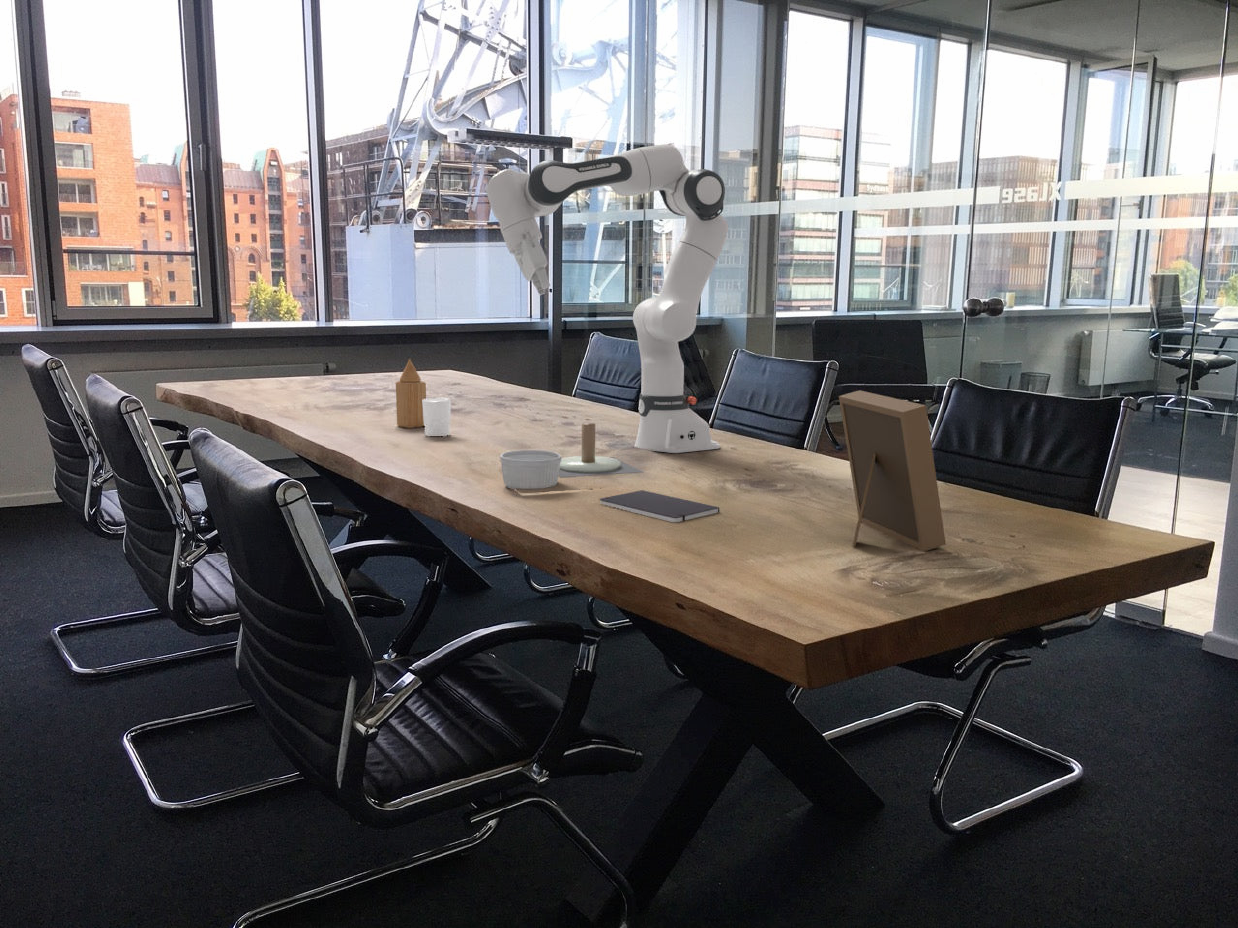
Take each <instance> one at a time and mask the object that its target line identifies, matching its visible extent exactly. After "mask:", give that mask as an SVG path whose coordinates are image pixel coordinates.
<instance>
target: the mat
mask: <svg viewBox="0 0 1238 928" xmlns="http://www.w3.org/2000/svg"><path fill="white" fill-rule="evenodd" d="M609 458H614V459H617V460H619V461H620V468H619V469H617V470H614V471H609V472H599V473H579V472H569V471H564V470H560V469H559V476H558V478H573V477H574V478H577V477H592V476H605V475H622V474H637V473H644V471H643V470H641V469H639V468H637V467H635V466H632V465H630V464H628V463H626V462H624V461H622V460H620V459H619V458H616V457H614V456H609Z"/></svg>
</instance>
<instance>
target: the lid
mask: <svg viewBox="0 0 1238 928" xmlns="http://www.w3.org/2000/svg"><path fill="white" fill-rule="evenodd" d="M609 457H610V456H609ZM609 457H608V456H597V455H596V423H594V422H582V423H581V455H579V456H578V455H573V456H567V457H561V462H560V470H564V471H569V472H579V473H599V472H609V471H614V470H617V469H619V468H620V461H621V460H620V459H618V458H616V459H614V458H615V457H614V458H609ZM617 459H618V460H617ZM619 460H620V461H619Z"/></svg>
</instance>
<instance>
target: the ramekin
mask: <svg viewBox="0 0 1238 928" xmlns="http://www.w3.org/2000/svg"><path fill="white" fill-rule="evenodd" d="M561 458H562V455H561V453H560V452H559V453H558V452H555V451H551V450H544V449H517V450H509V451H505V452H502V453H501V454H500V455H499V461H500V463H501V473H502V479H503V483H504V485H505V486H506V487H507V489H510V488H511V490H514V489H516V490H515V491H518V489H523V490H524V489H525V490H527V489H528V490H533V489H544V488H545V489H546V488H550V487H554V486H556V485H557V484H558V481H559V469H560V462H561Z"/></svg>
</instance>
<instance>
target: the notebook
mask: <svg viewBox="0 0 1238 928" xmlns="http://www.w3.org/2000/svg"><path fill="white" fill-rule="evenodd" d="M599 501H600V505H601V504H604V505H603V506H605V505H608V506H607V507H609V506H612V507H611V508H613V507H616V508H615V509H617V508H619V509H618V510H621V509H623V510H622V511H625V510H627V511H626V512H629V511H630V513H634V514H637V513H638V515H641V514H642V516H646V517H651V518H654V519H658V520H662V521H666V522H670V523H679V522H684V521H688V520H691V519H696V518H699V517H704V516H709V515H714V514H717V513H720V506H716V505H715V506H714V505H710V504H705V503H701V502H696V501H692V500H688V499H685V498H684V499H683V498H679V497H674V496H671V495H670V496H669V495H666V494H661V493H656V492H652V491H648V490H642V489H641V490H635V491H632V492H627V493H620V494H615V495H611V496H607V497H601V498H599Z"/></svg>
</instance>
